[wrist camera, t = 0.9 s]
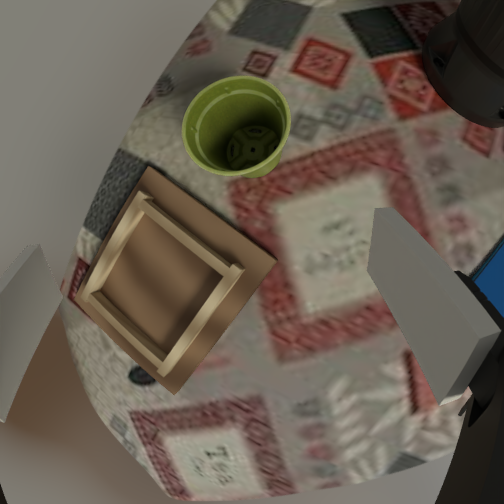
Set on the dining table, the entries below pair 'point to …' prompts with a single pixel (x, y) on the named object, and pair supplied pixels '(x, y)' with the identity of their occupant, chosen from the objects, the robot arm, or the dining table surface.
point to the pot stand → (170, 279)
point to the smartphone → (493, 278)
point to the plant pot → (237, 127)
